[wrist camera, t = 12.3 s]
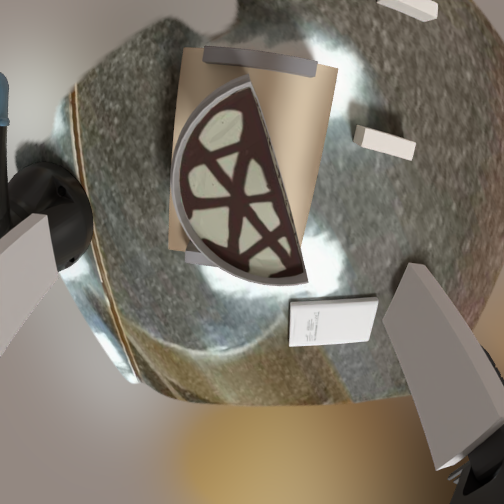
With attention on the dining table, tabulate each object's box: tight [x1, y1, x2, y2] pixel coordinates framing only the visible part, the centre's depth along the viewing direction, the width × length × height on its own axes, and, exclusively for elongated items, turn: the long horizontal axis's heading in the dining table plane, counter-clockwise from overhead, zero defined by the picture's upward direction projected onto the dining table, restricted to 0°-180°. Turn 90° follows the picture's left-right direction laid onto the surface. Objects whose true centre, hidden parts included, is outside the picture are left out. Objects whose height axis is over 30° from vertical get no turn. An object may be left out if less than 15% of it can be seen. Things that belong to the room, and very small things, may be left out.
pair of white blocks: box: [353, 0, 438, 161], centre depth 24 cm, size 6×19×3 cm, turn 172°
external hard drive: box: [289, 297, 378, 346], centre depth 43 cm, size 2×8×12 cm
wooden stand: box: [169, 46, 338, 267], centre depth 27 cm, size 12×18×10 cm, turn 172°
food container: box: [170, 73, 308, 286], centre depth 20 cm, size 12×6×10 cm, turn 17°
